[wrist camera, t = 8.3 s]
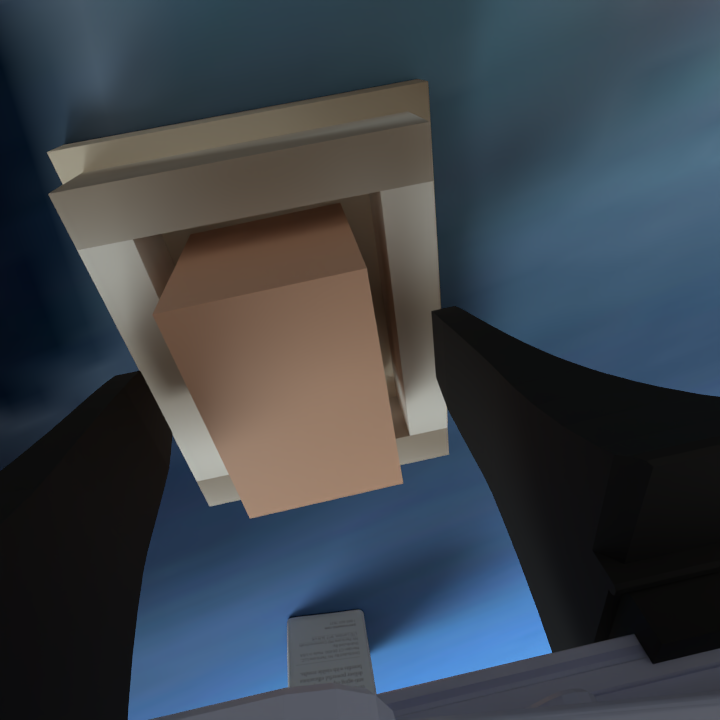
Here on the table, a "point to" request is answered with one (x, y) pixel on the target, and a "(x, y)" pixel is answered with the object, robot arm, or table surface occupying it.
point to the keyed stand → (259, 201)
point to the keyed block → (284, 358)
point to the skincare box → (329, 650)
